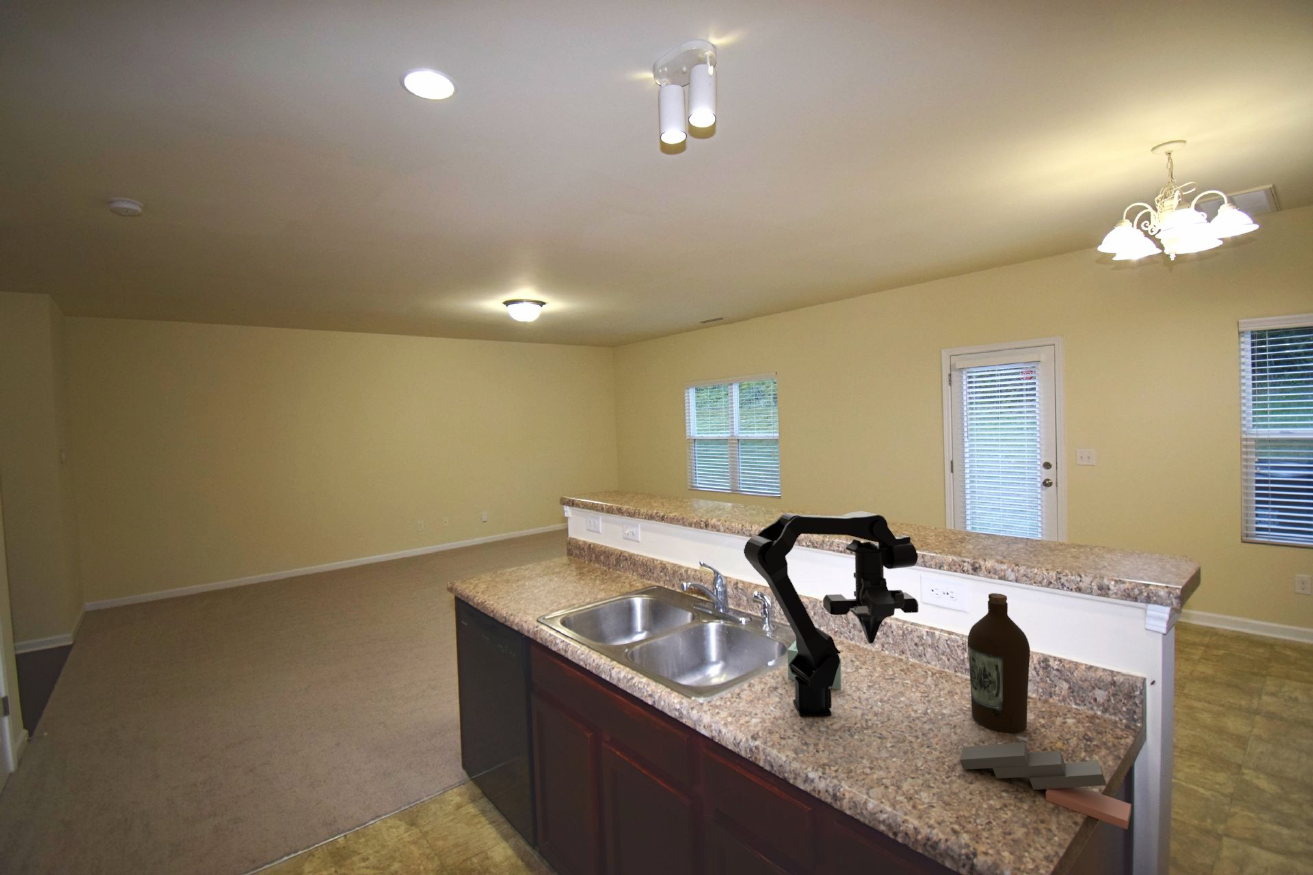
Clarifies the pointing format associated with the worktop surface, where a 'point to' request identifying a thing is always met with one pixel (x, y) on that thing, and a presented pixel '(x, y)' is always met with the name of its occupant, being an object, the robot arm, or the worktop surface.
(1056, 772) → the domino
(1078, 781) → the domino
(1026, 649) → the olive oil
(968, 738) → the worktop surface
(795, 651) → the right angle wall
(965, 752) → the domino
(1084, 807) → the domino
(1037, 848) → the worktop surface
